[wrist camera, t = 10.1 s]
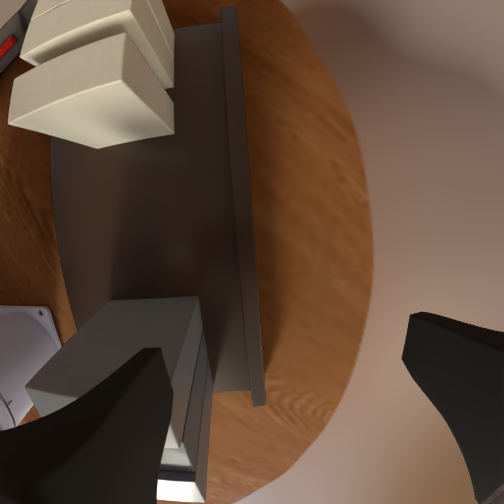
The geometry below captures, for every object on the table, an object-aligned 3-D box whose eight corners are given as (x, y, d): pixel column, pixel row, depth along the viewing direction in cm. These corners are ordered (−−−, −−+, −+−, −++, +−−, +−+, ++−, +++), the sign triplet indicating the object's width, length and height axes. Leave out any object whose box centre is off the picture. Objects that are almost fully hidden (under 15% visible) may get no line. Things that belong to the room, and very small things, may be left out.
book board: (102, 382, 20) (90, 403, 17) (64, 66, 15) (45, 54, 12) (262, 381, 21) (266, 405, 18) (235, 28, 15) (236, 5, 12)
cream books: (98, 104, 15) (18, 57, 6) (102, 52, 14) (41, -9, 5) (174, 87, 15) (130, 10, 6) (174, 35, 14) (143, -50, 5)
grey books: (134, 384, 19) (90, 486, 9) (109, 300, 18) (23, 386, 7) (213, 385, 19) (205, 502, 9) (198, 295, 18) (164, 405, 8)
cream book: (96, 149, 15) (6, 124, 7) (97, 118, 15) (13, 78, 6) (174, 134, 16) (121, 81, 7) (173, 102, 15) (126, 30, 6)
